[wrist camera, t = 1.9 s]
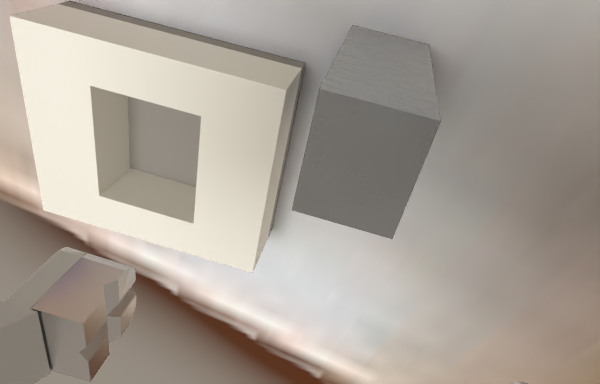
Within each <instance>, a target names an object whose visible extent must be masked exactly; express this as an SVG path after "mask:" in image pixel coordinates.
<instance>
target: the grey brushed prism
mask: <svg viewBox="0 0 600 384" xmlns="http://www.w3.org/2000/svg"><path fill="white" fill-rule="evenodd" d="M440 122H441V119H440V112H439V106H438V100H437V93H436V87H435V80H434V74H433V67H432V61H431V55H430V48H429V45H428V44H424V43H420V42H416V41H412V40H408V39H404V38H401V37H397V36H393V35H389V34H385V33H381V32H377V31H373V30H369V29H365V28H361V27H357V26H352V27H351V29H350V31H349V33H348V35H347V37H346V39H345V41H344V43H343V45H342V47H341V49H340V50H339V52H338V54H337V56H336V58H335V60H334V62H333V64H332V66H331V68H330V70H329V72H328V73H327V75H326V77H325V79H324V81H323V83H322V85H321V87H320V89H319V93H318V98H317V102H316V106H315V111H314V115H313V119H312V124H311V128H310V133H309V137H308V141H307V146H306V150H305V154H304V159H303V163H302V168H301V172H300V176H299V181H298V185H297V189H296V194H295V198H294V202H293V207H292V210H293V211H297V212H300V213H304V214H307V215H311V216H314V217H318V218H321V219H325V220H328V221H332V222H335V223H339V224H342V225H345V226H349V227H352V228H356V229H359V230H363V231H366V232H370V233H373V234H377V235H380V236H384V237H387V238H391V239H393V236H394V234H395V231H396V229H397V226H398V224H399V222H400V219H401V217H402V214H403V212H404V209H405V207H406V204H407V202H408V200H409V197H410V195H411V192H412V190H413V187H414V185H415V183H416V180H417V178H418V175H419V173H420V170H421V168H422V166H423V163H424V161H425V158H426V156H427V153H428V151H429V149H430V146H431V144H432V141H433V139H434V136H435V134H436V132H437V129H438V127H439V124H440Z"/></svg>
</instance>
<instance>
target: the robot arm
mask: <svg viewBox="0 0 600 384" xmlns="http://www.w3.org/2000/svg"><path fill="white" fill-rule="evenodd" d="M135 280H136V277H135V269H134V268H131V267H129V266H125V265H122V264H119V263H116V262H113V261H110V260H107V259H104V258H101V257H98V256H95V255H91V254H88V253H85V252H81V251H78V250H75V249H72V248H69V247H65V248H62V249H60V250H58V251H57V252H56V253H55V254H54V255H53V256H52V257H51V258H49V260H47V261H46V262H45V263H44V264H43V265H42V266H41V267H40V268H39V269H38V270H37V271H36V272H35V273H34V274H33V275H32V276H31V277H30V278H29V279H28V280H27V281H25V282H24V283H23V284H22V285H21V286H20V287H19V288H18V289H17V290H16V291H15V292H14V293H13V294H12V295H11V296H10V297H9V298H8V299H7V300H6V301H2V300H0V384H34V383H35V382H37V381H39V380H40V379H42V378H44V377H45V376H47V375H48V374H50V371H54V372H57V373H61V374H65V375H68V376H72V377H75V378H79V379H83V380H86V381H89V382H91V381H92V379H93V378H94V376H95V375H96V373H97V372H98V370H99V369H100V367H101V366H102V364H103V363H104V362H105V360H106V359H107V357H108V356H109V343H110V342H112V341H114V340H116V339H118V338H120V337H121V336H122V335H123V333H124V332H125V330H126V329H127V327H128V325H129V323H130V321H131V318H132V316H133V314H134V310H135V305H136V294H135V293H134V291H133V290H132V288H131V286H132V285H133V283H134V282H135ZM512 384H528V383H525V382H521V381H516V382H514V383H512Z"/></svg>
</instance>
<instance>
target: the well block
mask: <svg viewBox="0 0 600 384" xmlns="http://www.w3.org/2000/svg"><path fill="white" fill-rule="evenodd" d="M10 22H11V27H12V33H13V39H14V44H15V50H16V56H17V62H18V67H19V73H20V79H21V84H22V90H23V96H24V102H25V107H26V113H27V119H28V124H29V130H30V136H31V142H32V147H33V153H34V159H35V164H36V170H37V176H38V182H39V187H40V193H41V199H42V204H43V210H44V211H48V212H51V213H54V214H58V215H61V216H64V217H68V218H71V219H74V220H78V221H81V222H84V223H88V224H91V225H94V226H98V227H101V228H104V229H108V230H111V231H114V232H118V233H121V234H124V235H128V236H131V237H134V238H138V239H141V240H144V241H148V242H151V243H154V244H158V245H161V246H164V247H168V248H171V249H174V250H178V251H181V252H184V253H188V254H191V255H194V256H198V257H201V258H204V259H208V260H211V261H214V262H218V263H221V264H224V265H228V266H231V267H234V268H238V269H241V270H244V271H248V272H251V273H253V271H254V269H255V266H256V264H257V262H258V260H259V257H260V255H261V253H262V251H263V248H264V246H265V244H266V241H267V239H268V237H269V235H270V232H271V230H272V226H273V221H274V216H275V211H276V206H277V201H278V196H279V191H280V186H281V181H282V176H283V171H284V166H285V162H286V157H287V152H288V147H289V142H290V137H291V132H292V127H293V122H294V117H295V112H296V107H297V102H298V97H299V92H300V88H301V83H302V78H303V73H304V68H305V63H303V62H300V61H296V60H292V59H288V58H284V57H281V56H277V55H273V54H269V53H265V52H262V51H258V50H254V49H250V48H246V47H243V46H239V45H235V44H231V43H227V42H224V41H220V40H216V39H212V38H208V37H205V36H201V35H197V34H193V33H189V32H186V31H182V30H178V29H174V28H170V27H167V26H163V25H159V24H155V23H151V22H148V21H144V20H140V19H136V18H132V17H128V16H125V15H121V14H117V13H113V12H109V11H106V10H102V9H98V8H94V7H90V6H87V5H83V4H79V3H75V2H71V1H67V2H63V3H59V4H55V5H51V6H47V7H43V8H39V9H35V10H31V11H27V12H23V13H19V14H15V15H10Z"/></svg>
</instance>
